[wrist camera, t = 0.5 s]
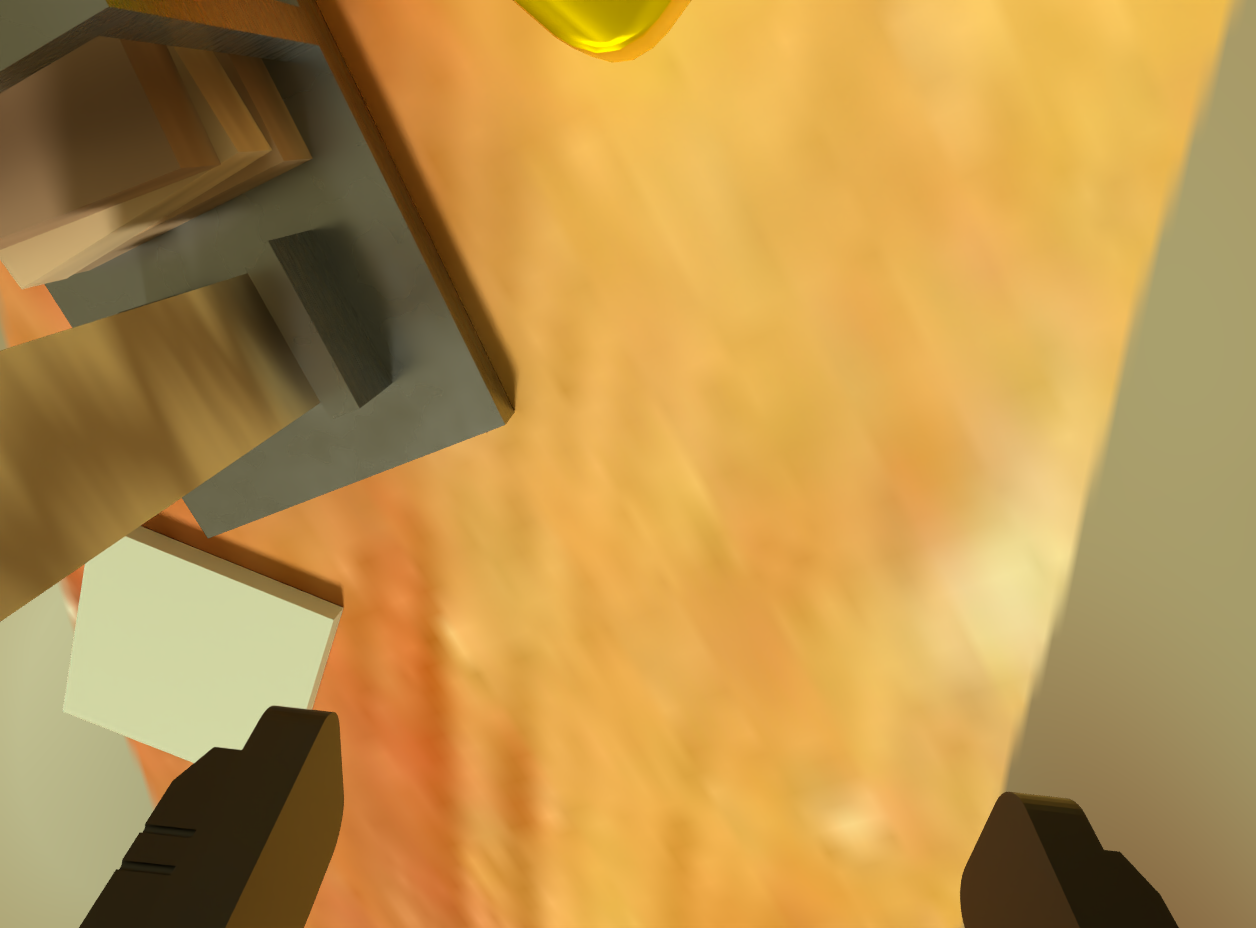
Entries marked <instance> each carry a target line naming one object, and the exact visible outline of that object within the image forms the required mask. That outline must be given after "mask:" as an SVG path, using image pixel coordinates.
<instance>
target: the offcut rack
mask: <svg viewBox="0 0 1256 928" xmlns="http://www.w3.org/2000/svg"><path fill="white" fill-rule="evenodd" d="M97 36H103V37H111V38H118V39H125V40H133V41H140V42H147V43H155V44H162V45H169V46H177V47H184V48H191V49H199V50H206V51H213V52H221V53H228V54H236V55H243V56H250V57H258V58H261V59H262V61H263V63H264V65H265V66H266V68H267V70H268V72H269V74H270V76H271V78H272V80H273V82H274V84H275V86H276V88H277V90H278V92H279V94H280V96H281V98H282V100H283V101H284V103H285V105H286V107H287V109H288V111H289V113H290V115H291V117H292V119H293V121H294V123H295V125H296V127H297V129H298V131H299V133H300V135H301V136H302V138H303V140H304V142H305V144H306V146H307V148H308V150H309V152H310V154H311V156H312V158H313V159H311V160H309V161H307V162H305V163H303V164H301V165H299V166H297V167H295V168H293V169H291V170H289V171H287V172H285V173H283V174H281V175H279V176H277V177H275V178H273V179H271V180H269V181H267V182H265V183H263V184H261V185H259V186H257V187H255V188H253V189H251V190H249V191H247V192H245V193H243V194H241V195H239V196H237V197H235V198H233V199H231V200H229V201H227V202H225V203H223V204H221V205H219V206H217V207H215V208H213V209H211V210H209V211H207V212H205V213H203V214H201V215H199V216H197V217H195V218H193V219H191V220H189V221H187V222H185V223H183V224H181V225H179V226H177V227H175V228H173V229H171V230H169V231H167V232H165V233H163V234H161V235H159V236H157V237H155V238H153V239H151V240H149V241H147V242H145V243H143V244H141V245H139V246H137V247H135V248H133V249H131V250H129V251H127V252H125V253H123V254H121V255H119V256H117V257H115V258H113V259H111V260H109V261H107V262H105V263H103V264H101V265H99V266H97V267H95V268H93V269H91V270H89V271H85V272H81V273H76V274H73V275H72V276H70V277H68V278H67V279H63V280H59V281H55V282H50V283H46V284H45V286H46V287H47V289H48V290H49V292H50V293H51V295H52V297H53V298H54V300H55V301H56V303H57V304H58V306H59V307H60V309H61V311H62V312H63V314H64V315H65V317H66V318H67V320H68V321H69V323H70V325H71V326H72V328H74V327H77V326H81V325H84V324H87V323H90V322H93V321H97V320H100V319H103V318H106V317H109V316H113V315H116V314H119V313H122V312H125V311H128V310H132V309H135V308H138V307H141V306H144V305H148V304H151V303H154V302H157V301H160V300H164V299H167V298H170V297H173V296H176V295H180V294H183V293H186V292H189V291H192V290H196V289H199V288H202V287H205V286H208V285H212V284H215V283H218V282H221V281H224V280H228V279H231V278H234V277H237V276H240V275H244V274H247V273H248V275H249V277H250V278H251V280H252V282H253V284H254V285H255V287H256V289H257V291H258V293H259V294H260V296H261V298H262V300H263V301H264V303H265V305H266V307H267V309H268V310H269V312H270V314H271V316H272V317H273V319H274V321H275V323H276V325H277V326H278V328H279V330H280V332H281V334H282V335H283V337H284V339H285V341H286V342H287V344H288V346H289V348H290V350H291V351H292V353H293V355H294V357H295V358H296V360H297V362H298V364H299V366H300V367H301V369H302V371H303V373H304V374H305V376H306V378H307V380H308V382H309V383H310V385H311V387H312V389H313V390H314V392H315V394H316V396H317V398H318V399H319V401H320V403H319V404H318V405H316V406H315V407H313V408H312V409H311V410H309V411H308V412H306V413H305V414H303V415H302V416H300V417H299V418H297V419H296V420H294V421H293V422H292V423H290V424H289V425H287V426H286V427H284V428H283V429H281V430H280V431H278V432H277V433H275V434H274V435H273V436H271V437H270V438H268V439H267V440H265V441H264V442H262V443H261V444H259V445H258V446H256V447H255V448H254V449H252V450H251V451H249V452H248V453H246V454H245V455H243V456H242V457H240V458H239V459H237V460H236V461H235V462H233V463H232V464H230V465H229V466H227V467H226V468H224V469H223V470H221V471H220V472H218V473H217V474H216V475H214V476H213V477H211V478H210V479H208V480H207V481H205V482H204V483H202V484H201V485H199V486H198V487H196V488H195V489H194V490H192V491H191V492H189V493H188V494H186V495H185V496H183V497H182V499H183V500H184V502H185V503H186V505H187V507H188V508H189V510H190V511H191V513H192V514H193V516H194V517H195V519H196V521H197V522H198V524H199V525H200V527H201V528H202V530H203V531H204V533H205V535H206V536H207V538H211V537H213V536H216V535H219V534H221V533H224V532H226V531H229V530H232V529H234V528H237V527H239V526H242V525H245V524H247V523H250V522H253V521H255V520H258V519H260V518H263V517H266V516H268V515H271V514H273V513H276V512H279V511H281V510H284V509H286V508H289V507H292V506H294V505H297V504H300V503H302V502H305V501H307V500H310V499H313V498H315V497H318V496H320V495H323V494H326V493H328V492H331V491H334V490H336V489H339V488H341V487H344V486H347V485H349V484H352V483H354V482H357V481H360V480H362V479H365V478H368V477H370V476H373V475H375V474H378V473H381V472H383V471H386V470H388V469H391V468H394V467H396V466H399V465H402V464H404V463H407V462H409V461H412V460H415V459H417V458H420V457H422V456H425V455H428V454H430V453H433V452H436V451H438V450H441V449H443V448H446V447H449V446H451V445H454V444H456V443H459V442H462V441H464V440H467V439H469V438H472V437H475V436H477V435H480V434H483V433H485V432H488V431H490V430H493V429H496V428H498V427H501V426H503V425H505V424H506V423H507V422H508V420H509V419H510V418H511V416H512V415H513V414H514V410H513V408H512V406H511V404H510V401H509V399H508V397H507V395H506V393H505V391H504V389H503V387H502V385H501V383H500V381H499V379H498V377H497V375H496V373H495V371H494V368H493V366H492V364H491V362H490V360H489V358H488V356H487V354H486V352H485V350H484V348H483V346H482V344H481V342H480V340H479V338H478V335H477V333H476V331H475V329H474V327H473V325H472V323H471V321H470V319H469V317H468V315H467V313H466V311H465V309H464V307H463V305H462V303H461V300H460V298H459V296H458V294H457V292H456V290H455V288H454V286H453V284H452V282H451V280H450V278H449V276H448V274H447V272H446V270H445V267H444V265H443V263H442V261H441V259H440V257H439V255H438V253H437V251H436V249H435V247H434V245H433V243H432V241H431V239H430V237H429V234H428V232H427V230H426V228H425V226H424V224H423V222H422V220H421V218H420V216H419V214H418V212H417V210H416V208H415V206H414V204H413V202H412V199H411V197H410V195H409V193H408V191H407V189H406V187H405V185H404V183H403V181H402V179H401V177H400V175H399V173H398V171H397V169H396V166H395V164H394V162H393V160H392V158H391V156H390V154H389V152H388V150H387V148H386V146H385V144H384V142H383V140H382V138H381V136H380V134H379V131H378V129H377V127H376V125H375V123H374V121H373V119H372V117H371V115H370V113H369V111H368V109H367V107H366V105H365V103H364V101H363V98H362V96H361V94H360V92H359V90H358V88H357V86H356V84H355V82H354V80H353V78H352V76H351V74H350V72H349V70H348V68H347V65H346V63H345V61H344V59H343V57H342V55H341V53H340V51H339V49H338V47H337V45H336V43H335V41H334V39H333V37H332V35H331V33H330V30H329V28H328V26H327V24H326V22H325V20H324V18H323V16H322V14H321V12H320V10H319V8H318V6H317V4H316V2H315V0H0V94H1V93H2V92H4V91H6V90H7V89H9V88H11V87H12V86H14V85H16V84H18V83H19V82H21V81H23V80H24V79H26V78H28V77H29V76H31V75H33V74H35V73H36V72H38V71H40V70H41V69H43V68H45V67H46V66H48V65H50V64H51V63H53V62H55V61H57V60H58V59H60V58H62V57H63V56H65V55H67V54H68V53H70V52H72V51H74V50H75V49H77V48H79V47H80V46H82V45H84V44H85V43H87V42H89V41H91V40H92V39H94V38H96V37H97Z"/></svg>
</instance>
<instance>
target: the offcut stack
mask: <svg viewBox="0 0 1256 928" xmlns="http://www.w3.org/2000/svg"><path fill="white" fill-rule="evenodd" d="M311 159H313V158H312V156H311V154H310V152H309V150H308V148H307V146H306V144H305V142H304V140H303V138H302V136H301V135H300V133H299V131H298V129H297V127H296V125H295V123H294V121H293V119H292V117H291V115H290V113H289V111H288V109H287V107H286V105H285V103H284V101H283V100H282V98H281V96H280V94H279V92H278V90H277V88H276V86H275V84H274V82H273V80H272V78H271V76H270V74H269V72H268V70H267V68H266V66H265V65H264V63H263V61H262V59H261V58H258V57H250V56H243V55H236V54H228V53H221V52H213V51H206V50H199V49H191V48H184V47H177V46H169V45H162V44H155V43H147V42H140V41H133V40H125V39H118V38H111V37H103V36H97V37H96V38H94V39H92V40H91V41H89V42H87V43H85V44H84V45H82V46H80V47H79V48H77V49H75V50H74V51H72V52H70V53H68V54H67V55H65V56H63V57H62V58H60V59H58V60H57V61H55V62H53V63H51V64H50V65H48V66H46V67H45V68H43V69H41V70H40V71H38V72H36V73H35V74H33V75H31V76H29V77H28V78H26V79H24V80H23V81H21V82H19V83H18V84H16V85H14V86H12V87H11V88H9V89H7V90H6V91H4V92H2V93H1V94H0V260H1V262H2V263H3V264H4V266H5V267H6V268H7V270H8V271H9V273H10V274H11V275H12V277H13V278H14V279H15V281H16V282H17V284H18V285H19V286H20V288H21V289H25V288H29V287H33V286H38V285H42V284H46V283H50V282H55V281H59V280H63V279H67V278H68V277H70V276H72V275H73V274H76V273H81V272H85V271H89V270H91V269H93V268H95V267H97V266H99V265H101V264H103V263H105V262H107V261H109V260H111V259H113V258H115V257H117V256H119V255H121V254H123V253H125V252H127V251H129V250H131V249H133V248H135V247H137V246H139V245H141V244H143V243H145V242H147V241H149V240H151V239H153V238H155V237H157V236H159V235H161V234H163V233H165V232H167V231H169V230H171V229H173V228H175V227H177V226H179V225H181V224H183V223H185V222H187V221H189V220H191V219H193V218H195V217H197V216H199V215H201V214H203V213H205V212H207V211H209V210H211V209H213V208H215V207H217V206H219V205H221V204H223V203H225V202H227V201H229V200H231V199H233V198H235V197H237V196H239V195H241V194H243V193H245V192H247V191H249V190H251V189H253V188H255V187H257V186H259V185H261V184H263V183H265V182H267V181H269V180H271V179H273V178H275V177H277V176H279V175H281V174H283V173H285V172H287V171H289V170H291V169H293V168H295V167H297V166H299V165H301V164H303V163H305V162H307V161H309V160H311Z"/></svg>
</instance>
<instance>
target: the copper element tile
mask: <svg viewBox="0 0 1256 928" xmlns="http://www.w3.org/2000/svg"><path fill="white" fill-rule="evenodd" d="M513 1H514V2H515V3H516V4H518V5H519V6H520V7H521V8H522V9H523V10H524V11H526V12H527V13H528V14H529V15H530V16H531V17H532V18H534V19H535V20H536V21H537V22H538V23H539V24H540V25H542V26H543V27H544V28H545V29H546V30H547V31H549V32H550V33H551V34H552V35H553V36H554V37H556V38H557V39H559V40H561V41H562V42H564V43H566V44H567V45H569V46H571V47H572V48H574V49H576V50H579V51H581V52H583V53H585V54H587V55H589V56H592V57H595V58H598V59H602V60H605V61H608V62H612V63H613V62H621V61H628V60H634V59H635V58H637V57H639V56H640V55H642V54H644V53H645V52H647V51H649V50H650V49H652V48H654V46H655V45H656V44H657V43H658V42H659V41H660V40H661V39H662V38H663V37H664V36H665V35H666V34H667V33H668V32H669V31H670V29H671V28H672V26H673V25H674V24H675V22H676V21H677V19H678V18H679V17H680V15H681V14H682V13H683V11H684V10H685V8H686V7H687V6H688V4H689V3H690V1H691V0H513Z"/></svg>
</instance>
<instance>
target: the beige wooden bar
mask: <svg viewBox="0 0 1256 928" xmlns="http://www.w3.org/2000/svg"><path fill="white" fill-rule="evenodd" d="M319 403H320V401H319V399H318V398H317V396H316V394H315V392H314V390H313V389H312V387H311V385H310V383H309V382H308V380H307V378H306V376H305V374H304V373H303V371H302V369H301V367H300V366H299V364H298V362H297V360H296V358H295V357H294V355H293V353H292V351H291V350H290V348H289V346H288V344H287V342H286V341H285V339H284V337H283V335H282V334H281V332H280V330H279V328H278V326H277V325H276V323H275V321H274V319H273V317H272V316H271V314H270V312H269V310H268V309H267V307H266V305H265V303H264V301H263V300H262V298H261V296H260V294H259V293H258V291H257V289H256V287H255V285H254V284H253V282H252V280H251V278H250V277H249V275H248V273H247V274H244V275H240V276H237V277H234V278H231V279H228V280H224V281H221V282H218V283H215V284H212V285H208V286H205V287H202V288H199V289H196V290H192V291H189V292H186V293H183V294H180V295H176V296H173V297H170V298H167V299H164V300H160V301H157V302H154V303H151V304H148V305H144V306H141V307H138V308H135V309H132V310H128V311H125V312H122V313H119V314H116V315H113V316H109V317H106V318H103V319H100V320H97V321H93V322H90V323H87V324H84V325H81V326H77V327H74V328H71V329H68V330H65V331H61V332H58V333H55V334H52V335H49V336H45V337H42V338H39V339H36V340H33V341H29V342H26V343H23V344H20V345H17V346H13V347H10V348H7V349H4V350H1V351H0V622H1V621H2V620H3V619H5V618H6V617H7V616H9V615H11V614H12V613H14V612H15V611H16V610H18V609H19V608H21V607H22V606H24V605H25V604H27V603H28V602H30V601H31V600H33V599H34V598H36V597H37V596H39V595H40V594H41V593H43V592H44V591H46V590H47V589H49V588H50V587H52V586H53V585H55V584H56V583H58V582H59V581H61V580H62V579H63V578H65V577H66V576H68V575H69V574H71V573H72V572H74V571H75V570H77V569H78V568H80V567H81V566H82V565H84V564H85V563H87V562H88V561H90V560H91V559H93V558H94V557H96V556H97V555H99V554H100V553H101V552H103V551H104V550H106V549H107V548H109V547H110V546H112V545H113V544H115V543H116V542H118V541H119V540H120V539H122V538H123V537H125V536H126V535H128V534H129V533H131V532H132V531H134V530H135V529H137V528H138V527H139V526H141V525H142V524H144V523H145V522H147V521H148V520H150V519H151V518H153V517H154V516H156V515H157V514H158V513H160V512H161V511H163V510H164V509H166V508H167V507H169V506H170V505H172V504H173V503H175V502H176V501H177V500H179V499H180V498H182V497H183V496H185V495H186V494H188V493H189V492H191V491H192V490H194V489H195V488H196V487H198V486H199V485H201V484H202V483H204V482H205V481H207V480H208V479H210V478H211V477H213V476H214V475H216V474H217V473H218V472H220V471H221V470H223V469H224V468H226V467H227V466H229V465H230V464H232V463H233V462H235V461H236V460H237V459H239V458H240V457H242V456H243V455H245V454H246V453H248V452H249V451H251V450H252V449H254V448H255V447H256V446H258V445H259V444H261V443H262V442H264V441H265V440H267V439H268V438H270V437H271V436H273V435H274V434H275V433H277V432H278V431H280V430H281V429H283V428H284V427H286V426H287V425H289V424H290V423H292V422H293V421H294V420H296V419H297V418H299V417H300V416H302V415H303V414H305V413H306V412H308V411H309V410H311V409H312V408H313V407H315V406H316V405H318V404H319Z"/></svg>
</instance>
